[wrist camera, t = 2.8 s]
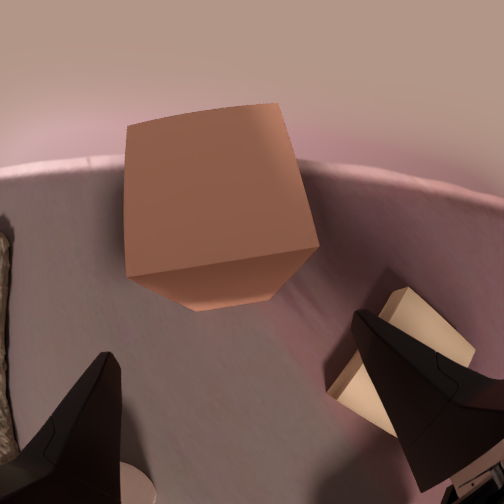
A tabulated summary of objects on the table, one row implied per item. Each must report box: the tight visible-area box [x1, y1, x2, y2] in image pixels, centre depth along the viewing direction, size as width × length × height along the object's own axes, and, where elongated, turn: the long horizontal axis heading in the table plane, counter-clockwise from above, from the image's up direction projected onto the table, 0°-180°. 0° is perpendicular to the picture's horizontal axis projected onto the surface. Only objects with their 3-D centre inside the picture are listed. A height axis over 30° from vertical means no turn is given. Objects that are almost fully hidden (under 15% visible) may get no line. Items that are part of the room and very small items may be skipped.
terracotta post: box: [124, 103, 320, 311], centre depth 15 cm, size 6×6×14 cm
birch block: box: [326, 287, 475, 438], centre depth 19 cm, size 10×10×3 cm
